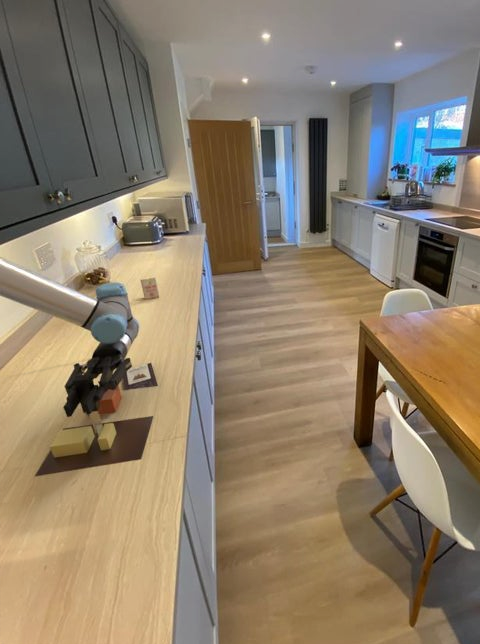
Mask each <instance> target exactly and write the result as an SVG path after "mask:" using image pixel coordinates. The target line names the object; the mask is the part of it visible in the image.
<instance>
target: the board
mask: <svg viewBox="0 0 480 644" xmlns="http://www.w3.org/2000/svg"><path fill="white" fill-rule="evenodd" d="M153 420H154V415H151V416H149V415H148V416H142V417H135V418H127V419H121V420H113V421H107V422H102V425H103V426H104V424H108V423H113V424H114V427H115V430H116V436H115V438H114V441H113V443H112V446H111V448H110V449H107V450H101V448H100V446H99V443H98V439H97V436H96V433H95V430H94V427H93V425H92V424H86V425H78V426H72V427H65V428H62V430H67V429H74V428H81V427H88V426H91V427H92V430H93V433H94V436H95V437H94V439H93V441H92V443H91V446H90V448H89V450H88V452H87V453H81V454H75V455H68V456H62V457H55V458H54V456H53V454H52V451H51V449H49V451H48V453H47V455H46V456H45V458H44V459H43V461H42V463H41V465H40V466H39V468H38V469H37V471H36V473H35V474H34V478H35V477H41V476H48V475H53V474H59V473H67V472H71V471H78V470H83V469H89V468H96V467H101V466H108V465H114V464H120V463H126V462H133V461H140V460H142V459H143V455H144V451H145V448H146V444H147V441H148V437H149V434H150V431H151V427H152V423H153Z"/></svg>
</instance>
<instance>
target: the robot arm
mask: <svg viewBox="0 0 480 644" xmlns="http://www.w3.org/2000/svg"><path fill="white" fill-rule="evenodd" d="M95 296H96V298H94V297H91V296H89V295H86V294H84V293H82V292H80V291H78V290H75V289H73V288H71V287H69V286H67V285H64V284H63V283H60V282H57V281H56V280H53V279H52V278H49V277H47V276H45V275H42V274H40V273H37V272H36V271H33V270H31V269H29V268H27V267H24V266H22V265H19V264H17V263H15V262H13V261H11V260H8V259H7V258H4V257H1V256H0V297H2V298H4V299H5V298H6V299H8V300H10V301H13V302H15V303H18V304H21V305H23V306H26V307H28V308H32V309H34V310H36V311H38V312H41V313H44V314H47V315H49V316H51V317H54V318H56V319H59V320H62V321H64V322H67V323H70V324H72V325H75V326H78V327H80V328H82V329H84V330H87V331H89V332H90V334H91V336H92V338H93V339H94V340H95V341H97V342H98V345H97V347H96V348H95V349H94V351H93V353H92V355H91V358H90V359H88V360H87V361H86V363H84V364H83V363H82V364H80V363H79V362H77V363H74V364H73V370H72V372H71V374H70V376H68V379H67V381H66V382H65V384H64V389H65V391H66V394H67V396H66V398H65V400H66V401H65V404H64V405H63V408H62V409H63V410H64V413H65V415H66V418H72V416H73V414H74V413H75V411H76V409H77V408H78V406H79V404H80V401H79V398H78V396H77V393H76V390H75V387H74V384H73V382H72V381H73V379H74V378H75V376H77V375H86V374H91V376H92V379H93V381H94V380H95V379H97V378H98V377H99V376H100V378H99V380H97V382H98V384H94V387H93V389H92V390H91V392H90V393H89V395H88V397H87V399H86V400H85V402H84V404H83V406H84V409H85V412H86V413H85V414H86V415H88V414H91V412H92V410H93V408H94V406H95V404H96V403H97V401H100V400H101V399H102V398H103V396H104V394H105V392H107V390H109V389H111V390H115V389H116V388H117V386H118V385H120V383H121V381H123V377H124V375H125V374H126V372H127V371H128V370H129V369H130V368H133V364H132V360H131V358H130V357H127V355H128V353H129V351H130V349H131V347H132V345H133V343H134V342H135V339H136V338H137V337H138V334H139V331H140V323H139V320H137V319H136V317H134V316H133V314H132V309H131V305H130V300H129V293H128V292H127V289H126V286H125V284H123V283H121V282H108V283H103V284H101V285H98V286H97V287H96V288H95ZM126 357H127V358H126Z"/></svg>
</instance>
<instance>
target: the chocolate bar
mask: <svg viewBox="0 0 480 644" xmlns="http://www.w3.org/2000/svg"><path fill="white" fill-rule="evenodd" d="M155 374H156V373H155V371H154V367H153V364H152V362H148V363H145V364H142V365H138V366H134V367H131V368H130V369H129V370H128V371H127V372H126V374H125V375H124V377H123V378H122V381H123V389H124V391H130V390H139V389H147V388H154V387H159V385H158V381H157V377H156V375H155Z"/></svg>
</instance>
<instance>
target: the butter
mask: <svg viewBox="0 0 480 644" xmlns="http://www.w3.org/2000/svg"><path fill="white" fill-rule="evenodd" d="M94 437H95V436H94V433H93V430H92V427H91V426H88V427H81V428H74V429H67V430H63V429H60V430H59V431H58V432H57V434H56V436H55V437H54V439H53V440H52V442H51V443H50V445H49V450H51V451H52V454H53V456H54V458H55V457H62V456H68V455H75V454H81V453H87V452H88V450H89V448H90V446H91V443H92V441H93V439H94Z"/></svg>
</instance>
